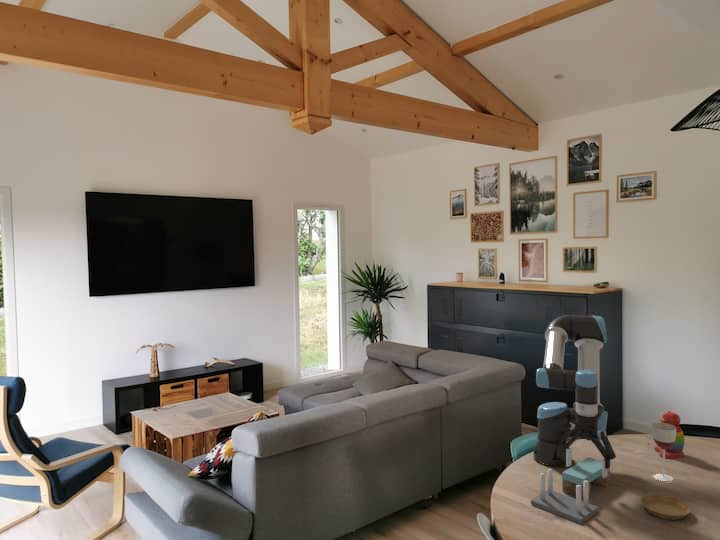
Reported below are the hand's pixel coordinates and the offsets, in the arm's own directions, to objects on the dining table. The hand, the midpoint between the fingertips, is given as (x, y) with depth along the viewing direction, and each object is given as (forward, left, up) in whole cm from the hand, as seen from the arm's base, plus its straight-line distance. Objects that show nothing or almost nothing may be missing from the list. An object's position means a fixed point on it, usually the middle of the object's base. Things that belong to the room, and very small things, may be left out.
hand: (586, 471), depth 199 cm
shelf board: (0, 0, -1) cm, 1 cm away
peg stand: (+2, -20, -6) cm, 21 cm away
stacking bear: (+9, +56, -7) cm, 57 cm away
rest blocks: (0, 0, -6) cm, 6 cm away
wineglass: (+16, +29, -7) cm, 34 cm away
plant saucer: (+26, +2, -7) cm, 27 cm away
